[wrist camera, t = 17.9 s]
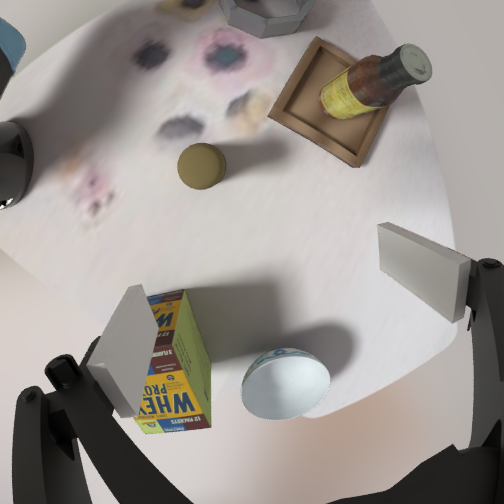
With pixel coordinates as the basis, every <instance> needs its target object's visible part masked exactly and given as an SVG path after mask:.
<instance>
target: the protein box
mask: <svg viewBox="0 0 504 504" xmlns="http://www.w3.org/2000/svg"><path fill="white" fill-rule="evenodd" d="M147 300H148V303H149V305H150V308H151V310H152V313H153V315H154V317H155V320H156V322H157V325H158V327H159V329H158V333H157V337H156V341H155V345H154V349H153V353H152V357H151V361H150V365H149V369H148V374H147V378H146V382H145V387H144V391H143V396H142V401H141V405H140V410H139V415H138V417H133V418H134V420H135V421H136V423H137V424H138V425H139V427H140V428H141V430H142V431H143V432H144V433H145V434H153V433H166V432H177V431H187V430H196V429H204V428H211V362H210V360H209V357H208V354H207V352H206V349H205V346H204V343H203V341H202V338H201V335H200V332H199V330H198V327H197V324H196V321H195V318H194V315H193V312H192V309H191V306H190V303H189V300H188V297H187V294H186V291H185V289H183V290H179V291H175V292H170V293H166V294H161V295H156V296H151V297H147Z"/></svg>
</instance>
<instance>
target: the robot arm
mask: <svg viewBox="0 0 504 504" xmlns="http://www.w3.org/2000/svg"><path fill="white" fill-rule="evenodd" d="M25 50H26V42H25V39H24V37H23V36H22V35H21V34H20V32H18V30H16V29H15V28H14V27H13V26H12V25H10V24H9V23H8V22H6V21H5V20H4V19H2V18H0V99H1V97H2V95H3V93H4V91H5V89H6V87H7V85H8V83H9V81H10V79H11V77H13V76H14V74H15V71H16V68H17V66H18V64H19V62H20V60H21V58H22V57H23V55H24V53H25ZM32 170H33V149H32V144H31V140H30V138H29V135H28V134H27V132H26V130H25V129H24V128H23V127H22V126H20V125H19V124H17V123H13V122H0V210H2V209H5V208H9V207H11V206H13V205H15V204H16V203H17V202H18V201H19V200H20V199H21V198H22V196H23V195H24V193H25V191H26V189H27V187H28V185H29V182H30V179H31V175H32ZM377 228H378V241H379V258H380V270H381V271H383V272H384V273H386V274H387V275H388V276H390V277H391V278H393V279H394V280H395V281H397V282H398V283H399V284H401V285H402V286H404V287H405V288H406V289H408V290H409V291H410V292H412V293H413V294H414V295H416V296H417V297H418V298H420V299H421V300H422V301H424V302H425V303H426V304H428V305H429V306H430V307H432V308H433V309H434V310H435V311H437V312H438V313H439V314H441V315H442V316H443V317H444V318H446V319H447V320H448V321H450V322H451V323H452V324H453V323H454V322H456V321H458V320H460V319H462V318H463V317H464V313H465V306H466V305H467V306H469V307H470V308H471V313H470V319H469V324H468V329H467V331H469V330H470V327H471V332H472V343H473V360H474V361H473V362H474V403H473V422H472V435H471V441H470V444H469V447H468V448H466V449H463V450H459V451H458V450H457V449H456V447H455V446H454V445H453V444H452V445H450V446H449V447H447V448H446V449H444V450H442V451H441V452H439V453H438V454H436V455H434V456H432V457H431V458H429V459H427V460H426V461H424V462H422V463H421V464H420V465H418V466H417V467H416V468H415V469H414V470H413V471H411V472H410V473H409V474H408V475H407V476H405V477H404V478H403V479H402V480H400V481H399V482H398V483H397V484H395V485H394V486H393V487H391V488H390V489H388V490H386V491H383V492H378V493H373V494H368V495H362V496H356V497H350V498H343V499H339V500H336V501H333V502H330V503H327V504H504V265H503V264H502V263H501V262H500V261H498V260H495V259H490V258H485V259H481V260H479V261H478V262H477V261H475V260H472V259H471V258H469V257H467V256H465V255H463V254H462V255H461V254H460V253H458V252H455V251H454V250H452V249H450V248H447V247H444V246H442V245H440V244H438V243H436V242H433V241H431V240H429V239H427V238H424V237H422V236H420V235H418V234H415V233H413V232H411V231H408V230H406V229H404V228H401V227H399V226H396V225H394V224H392V223H389V222H386V223H382V224H379V225H377ZM158 329H159V327H158V325H157V322H156V320H155V317H154V315H153V313H152V310H151V308H150V305H149V303H148V300H147V297H146V295H145V292H144V290H143V287H142V284H140V285H136V286H132V287H129V288H128V289H127V291H126V293H125V294H124V296H123V298H122V300H121V301H120V303H119V305H118V307H117V308H116V310H115V312H114V314H113V315H112V317H111V319H110V321H109V323H108V325H107V326H106V328H105V330H104V332H103V334H102V336H98V337H97V338H96V339H95V340H94V341H93V342H92V343H91V345H90V347H89V349H88V351H87V352H86V354H85V357H84V358H83V360H82V362H81V364H80V365H79V366H78V365H77V363H76V361H75V359H74V358H73V356H71V355H68V354H65V355H60V356H59V357H56V358H54V359H53V360H52V361H51V362H49V363H48V365H47V366H46V368H45V374H46V376H47V377H48V379H49V380H50V382H51V383H52V385H53V386H54V387H55V389H56V391H54V392H51V393H48V394H44V393H43V391H42V390H41V388H39V387H38V386H31V387H29V388H26V389H24V391H22V392H21V394H20V395H19V397H18V399H17V404H16V411H15V420H14V431H13V432H14V433H13V447H12V486H13V487H12V488H13V503H14V504H92V501H91V497H90V494H89V490H88V487H87V483H86V479H85V475H84V471H83V466H82V462H81V457H80V453H79V447H78V442H77V438H79V440H80V442H81V444H82V445H83V447H84V449H85V451H86V453H87V454H88V456H89V458H90V459H91V461H92V463H93V465H94V466H95V468H96V469H97V471H98V473H99V474H100V476H101V477H102V479H103V480H104V482H105V483H106V485H107V486H108V488H109V489H110V491H111V492H112V494H113V495H114V497H115V498H116V499H117V501H118V502H119V503H120V504H194V503H192V502H191V501H190V500H189V499H188V498H187V497H185V496H184V495H183V494H182V493H181V492H180V491H179V490H178V489H177V488H176V487H175V486H174V485H173V484H172V483H170V481H169V480H168V479H167V478H166V477H165V476H164V475H163V474H162V473H161V472H160V471H159V470H158V469H157V468H156V467H155V466H154V465H153V464H152V463H151V462H150V461H149V460H148V458H147V457H146V456H145V455H144V454H143V453H142V452H141V451H140V450H139V448H138V447H137V446H136V445H135V444H134V443H133V441H132V440H131V439H130V438H129V437H128V435H127V434H126V433H125V432H124V430H123V429H122V428H121V427H120V425H119V424H118V423H117V422H116V420H115V419H114V418H113V416H112V414H113V411H114V409H115V410H116V411H117V413H118V414H119V416H120V417H121V418H129V417H138V415H139V410H140V405H141V401H142V396H143V391H144V387H145V382H146V378H147V374H148V369H149V365H150V361H151V357H152V353H153V349H154V345H155V341H156V337H157V333H158Z"/></svg>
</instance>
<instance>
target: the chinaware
mask: <svg viewBox="0 0 504 504" xmlns="http://www.w3.org/2000/svg"><path fill="white" fill-rule="evenodd" d="M330 383H331V378H330V374H329V371H328V369H327V368H326V366H325V365H324V364H323V363H322V362H321V361H320V360H319V359H317V358H316V357H315V356H313V355H312V354H310V353H308V352H306V351H303V350H300V349H295V348H281V349H276V350H273V351H270V352H268V353H266V354H264V355H262V356H261V357H259V358H258V359H257V360H256V361H254V363H253V364H252V365H251V366H250V367H249V369H248V370H247V372H246V374H245V376H244V379H243V382H242V386H241V392H240V397H241V402H242V404H243V406H244V407H245V409H246V410H247V411H248V412H249V413H251V414H252V415H254V416H256V417H258V418H261V419H265V420H272V421H280V420H288V419H292V418H296V417H299V416H301V415H303V414H306V413H307V412H309V411H311V410H312V409H314V408H315V407H316V406H317V405H319V404H320V403H321V401H322V400H323V399H324V398H325V396H326V395H327V393H328V391H329V388H330Z"/></svg>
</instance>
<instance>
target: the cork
mask: <svg viewBox="0 0 504 504" xmlns="http://www.w3.org/2000/svg"><path fill="white" fill-rule="evenodd" d="M225 170H226V161H225V158H224V156H223V154H222V153H221V152H220V151H219V150H218V149H217V148H215V147H214V146H213V145H210V144H207V143H196V144H193V145H190V146H189V147H188V148H186V149H185V150H184V151H183V152H182V154H181V155H180V157H179V160H178V173H179V176H180V178H181V180H182V181H183V182H184V183H185V184H186V185H187V186H189V187H190V188H194V189H197V190H202V189H207V188H210V187H212V186H214V185H215V184H217V183H218V182H219V181H220V180H221V179H222V177H223V176H224V173H225Z"/></svg>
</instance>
